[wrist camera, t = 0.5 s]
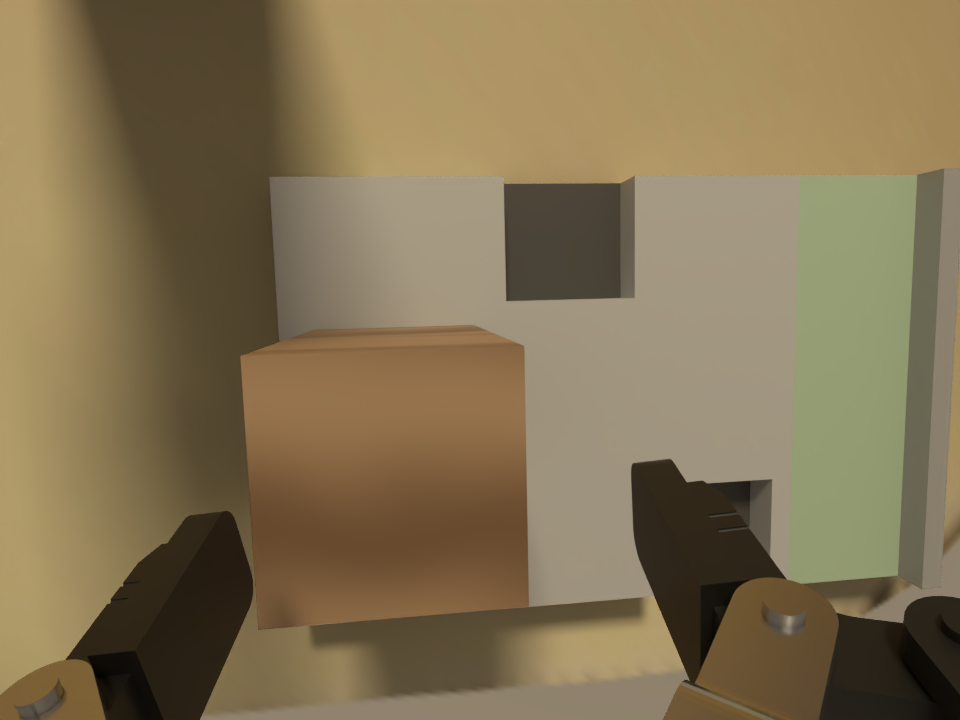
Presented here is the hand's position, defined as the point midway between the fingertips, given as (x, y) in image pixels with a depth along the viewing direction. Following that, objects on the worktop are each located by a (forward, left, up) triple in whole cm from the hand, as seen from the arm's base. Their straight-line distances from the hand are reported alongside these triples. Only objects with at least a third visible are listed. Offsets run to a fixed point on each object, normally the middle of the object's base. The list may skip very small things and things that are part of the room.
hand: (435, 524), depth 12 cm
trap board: (0, +10, -18) cm, 20 cm away
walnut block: (0, -1, -15) cm, 16 cm away
